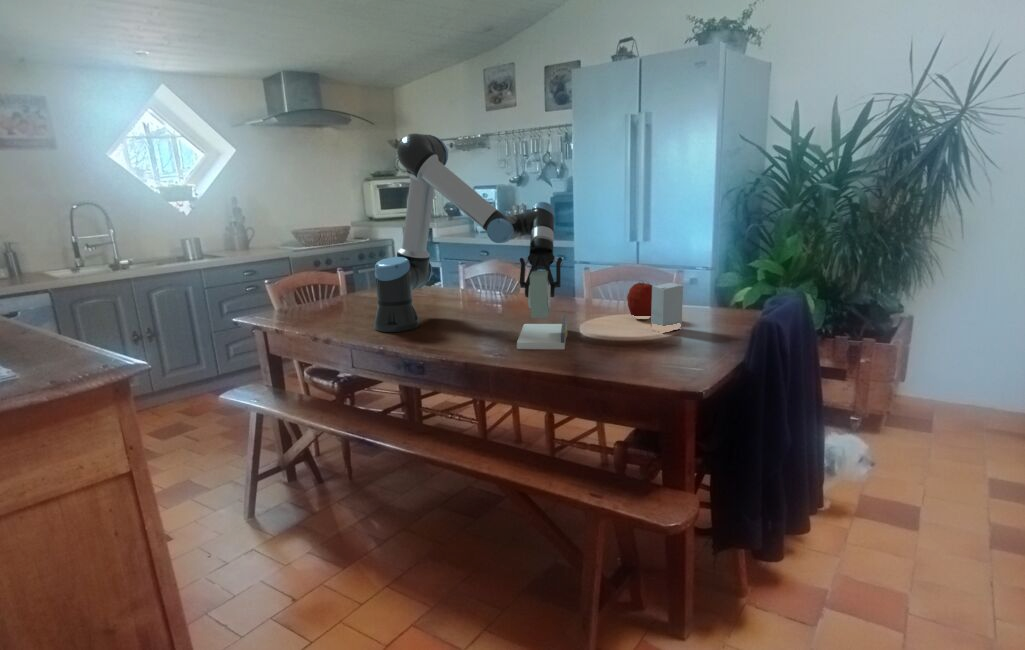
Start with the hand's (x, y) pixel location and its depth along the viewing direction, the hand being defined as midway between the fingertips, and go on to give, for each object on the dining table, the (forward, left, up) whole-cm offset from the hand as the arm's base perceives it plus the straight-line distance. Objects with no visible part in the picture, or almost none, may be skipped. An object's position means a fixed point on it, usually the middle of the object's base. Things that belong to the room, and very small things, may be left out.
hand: (539, 305), depth 178 cm
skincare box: (+21, +36, -12) cm, 44 cm away
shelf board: (-2, +3, -12) cm, 12 cm away
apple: (+7, +43, -12) cm, 45 cm away
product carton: (-2, +3, -4) cm, 5 cm away
